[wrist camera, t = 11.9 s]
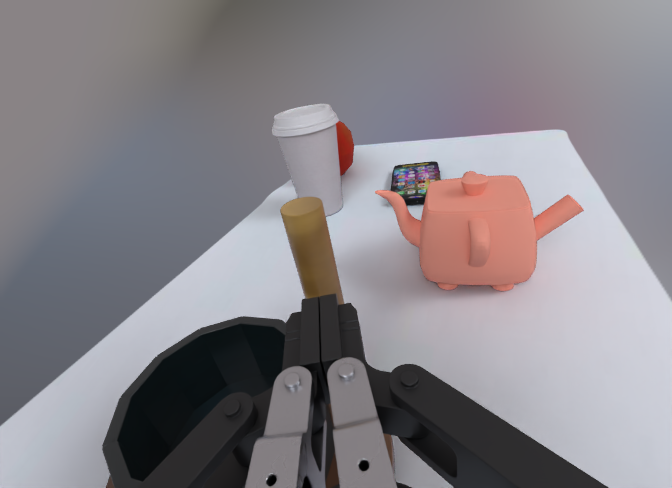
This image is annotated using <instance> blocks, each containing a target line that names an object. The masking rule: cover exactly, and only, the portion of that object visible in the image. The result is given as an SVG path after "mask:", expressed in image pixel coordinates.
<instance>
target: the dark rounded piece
mask: <svg viewBox="0 0 672 488" xmlns="http://www.w3.org/2000/svg"><path fill="white" fill-rule="evenodd" d="M280 212H281V216H282V219H283V222H284V226H285V229H286V233H287V236H288V240H289V243H290V247H291V250H292V254H293V257H294V261H295V264H296V268H297V271H298V275H299V278H300V282H301V285H302V289H303V292H304V296H305V299H307V298H313V297H318V296H319V298H320V296H323V295H329V294H334V293H337V297H338V301H339V305H341V304H344V300H343V295H342V290H341V286H340V281H339V276H338V272H337V267H336V263H335V258H334V253H333V249H332V244H331V239H330V235H329V230H328V226H327V221H326V216H325V212H324V207H323V202H322V200H321V199H320V198H317V197H302V198H297V199H294V200H292V201H289V202H288V203H286V204H284V205H283V206H282V207H281V210H280ZM285 334H286V323H285V322H284V321H282V320H279V319H268V318H256V317H245V316H244V317H242V316H241V317H238V318H234V319H231V320H227V321H224V322H220V323H217V324H214V325H210V326H207V327H203V328H200V330H199V329H198V330H197V331H195V332H193V333H192V334H190V335H189V336H187V337H186V338H184V339H182V340H181V341H179V342H178V343H176V344H175V345H173V346H171V347H170V348H168V349H167V350H165V351H164V352H162V353H160V354H159V355H158V356H157V357H155V358H154V359H153V361H152V362H151V363H150V364H149V365H148V366H147V367H146V369H145V370H144V371H143V372H142V373H141V374H140V375H139V376H138V378H137V379H136V380H135V381H134V382H133V383H132V384H131V386H130V387H129V388H128V389H127V390H126V391H125V392H124V394H123V395H122V396H121V398H120V399H119V402H118V405H117V407H116V410H115V413H114V416H113V418H112V421H111V424H110V427H109V429H108V432H107V435H106V438H105V440H104V443H103V448H102V450H103V453H104V456H105V460H106V463H107V466H108V469H109V472H110V477H109V480H108V483H107V485H106V488H137V487H138V486H139V485H140V484H141V483H142V482H143V481H144V480H145V479H146V478H147V477H148V476H149V475H150V474H151V473H152V472H153V471H154V469H155V468H156V467H157V466H158V465H159V464H160V463H161V462H162V461H163V460H164V459H165V458H166V457H167V456H168V455H169V454H170V453H171V452H172V451H173V450H174V449H175V448H176V447H177V446H178V445H179V444H180V443H181V442H182V441H183V440H184V438H185V437H186V436H187V435H188V434H189V433H190V432H191V431H192V430H193V429H194V428H195V427H196V426H197V425H198V424H199V423H200V422H201V421H202V420H203V419H204V418H205V417H206V416H207V415H208V414H209V413H210V412H211V411H212V410H213V408H214V407H215V406H216V405H217V404H218V403H219V402H220V401H221V400H222V399H224V398H225V397H226V396H228V395H230V394H232V393H236V392H244V393H247V394H248V395H250V396H251V398H252V397H254V396H257V395H259V394H261V393H263V392H265V391H267V390H268V389H270V388H271V387H272V386H274V382H275V380H276V378H277V376H278V375H279V374H280V373H281V372H282V366H283V355H284V344H285ZM325 413H326V417H325V419H326V423H327V430H326V456H325V485H326V488H331V487H333V486H335V485H338V484H339V476H338V469H337V461H336V453H335V446H334V438H333V428H334V423H333V415H332V408H331V404H326V405H325ZM383 435H384V439H385V443H386V447H387V450H388V454H389V458H390V462H391V466H392V470H393V473H394V475H395V466H394V449H393V443H392V437H391V435H389V434H384V433H383Z"/></svg>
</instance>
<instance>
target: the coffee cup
mask: <svg viewBox="0 0 672 488" xmlns="http://www.w3.org/2000/svg"><path fill="white" fill-rule="evenodd" d="M338 121H339V120H338V117H337V115H336V113H335V112H333V111H332V109H331V106H330V105H329V104H314V105H307V106H302V107H297V108H293V109H290V110H287V111H284V112H282V113H279V114H277V115H275V116H274V124H273V128H272V134H273V135H274V136H277V139H278V142H279V144H280V147H281V150H282V153H283V156H284V159H285V162H286V164H287V167H288V170H289V173H290V176H291V179H292V182H293V185H294V187H295V190H296V193H297V196H298V198H302V197H317V198H320V199H321V200H322V202H323V207H324V212H325V216H329V215H332V214H334V213H336V212H338V211H339V210H341V208H342V207H343V198H342V188H341V177H340V166H339V155H338V143H337V131H336V123H337V122H338Z"/></svg>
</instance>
